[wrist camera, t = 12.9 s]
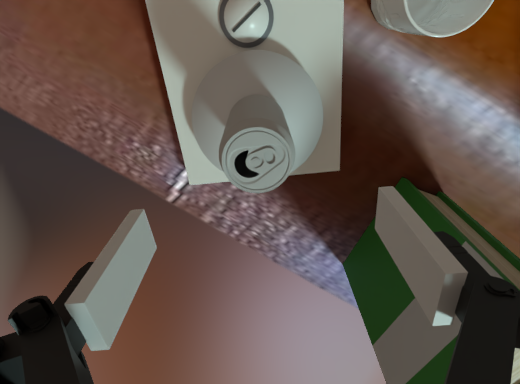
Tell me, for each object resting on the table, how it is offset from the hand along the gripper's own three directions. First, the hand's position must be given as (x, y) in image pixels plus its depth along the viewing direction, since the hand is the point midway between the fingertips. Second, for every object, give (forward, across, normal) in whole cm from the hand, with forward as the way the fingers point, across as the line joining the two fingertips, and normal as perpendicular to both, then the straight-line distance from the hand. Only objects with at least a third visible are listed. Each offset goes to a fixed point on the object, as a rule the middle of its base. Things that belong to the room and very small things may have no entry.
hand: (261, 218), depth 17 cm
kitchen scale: (+25, 0, -3) cm, 25 cm away
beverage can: (+20, 0, 0) cm, 20 cm away
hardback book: (+25, -19, +21) cm, 38 cm away
